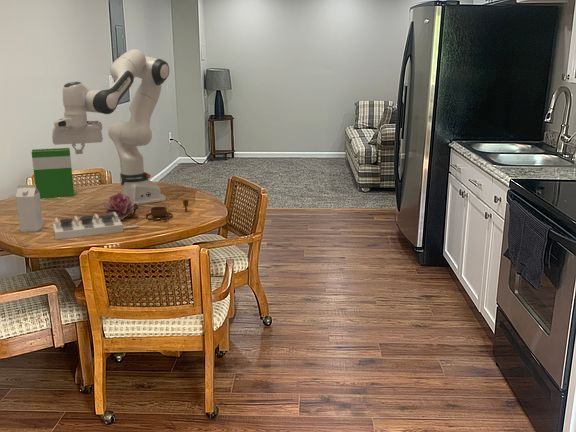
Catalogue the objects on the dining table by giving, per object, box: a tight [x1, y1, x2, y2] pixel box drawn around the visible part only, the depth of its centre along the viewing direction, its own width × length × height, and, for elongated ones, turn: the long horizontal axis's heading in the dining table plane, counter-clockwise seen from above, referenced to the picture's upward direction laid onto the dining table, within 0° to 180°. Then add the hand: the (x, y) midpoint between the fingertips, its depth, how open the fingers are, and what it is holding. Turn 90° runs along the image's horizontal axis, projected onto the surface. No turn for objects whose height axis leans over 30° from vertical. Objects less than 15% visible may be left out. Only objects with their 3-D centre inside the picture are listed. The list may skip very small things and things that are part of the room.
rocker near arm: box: [99, 213, 113, 219], centre depth 238 cm, size 4×7×2 cm, turn 25°
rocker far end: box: [59, 217, 74, 224], centre depth 231 cm, size 4×7×2 cm, turn 25°
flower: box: [103, 193, 139, 221], centre depth 253 cm, size 15×15×10 cm
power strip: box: [52, 212, 139, 240], centre depth 235 cm, size 32×13×6 cm, turn 115°
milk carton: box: [15, 184, 44, 233], centre depth 233 cm, size 7×7×19 cm
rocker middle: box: [80, 215, 94, 222], centre depth 234 cm, size 4×7×2 cm, turn 25°
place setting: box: [145, 199, 189, 223], centre depth 255 cm, size 18×20×6 cm
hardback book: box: [31, 147, 75, 200], centre depth 288 cm, size 18×7×24 cm, turn 111°
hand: (79, 153), depth 244 cm, fingers closed
